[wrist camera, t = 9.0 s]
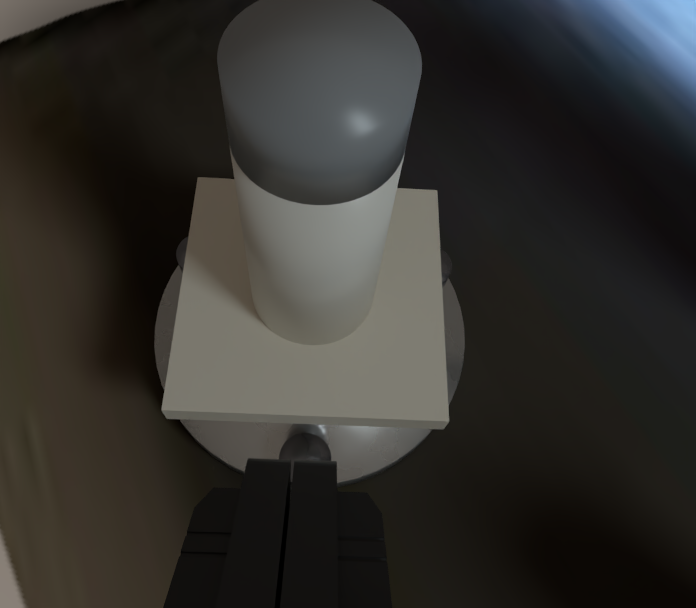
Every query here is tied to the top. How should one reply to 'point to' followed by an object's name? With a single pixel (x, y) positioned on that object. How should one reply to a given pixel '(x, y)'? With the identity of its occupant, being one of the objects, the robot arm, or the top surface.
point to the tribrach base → (309, 439)
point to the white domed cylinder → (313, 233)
